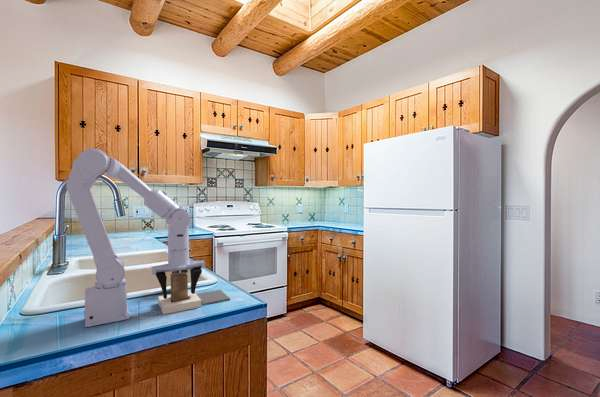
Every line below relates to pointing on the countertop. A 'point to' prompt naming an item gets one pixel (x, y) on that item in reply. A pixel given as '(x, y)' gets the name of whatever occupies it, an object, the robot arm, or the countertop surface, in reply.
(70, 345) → the countertop surface
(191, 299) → the holder
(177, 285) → the peg
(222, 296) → the mat
